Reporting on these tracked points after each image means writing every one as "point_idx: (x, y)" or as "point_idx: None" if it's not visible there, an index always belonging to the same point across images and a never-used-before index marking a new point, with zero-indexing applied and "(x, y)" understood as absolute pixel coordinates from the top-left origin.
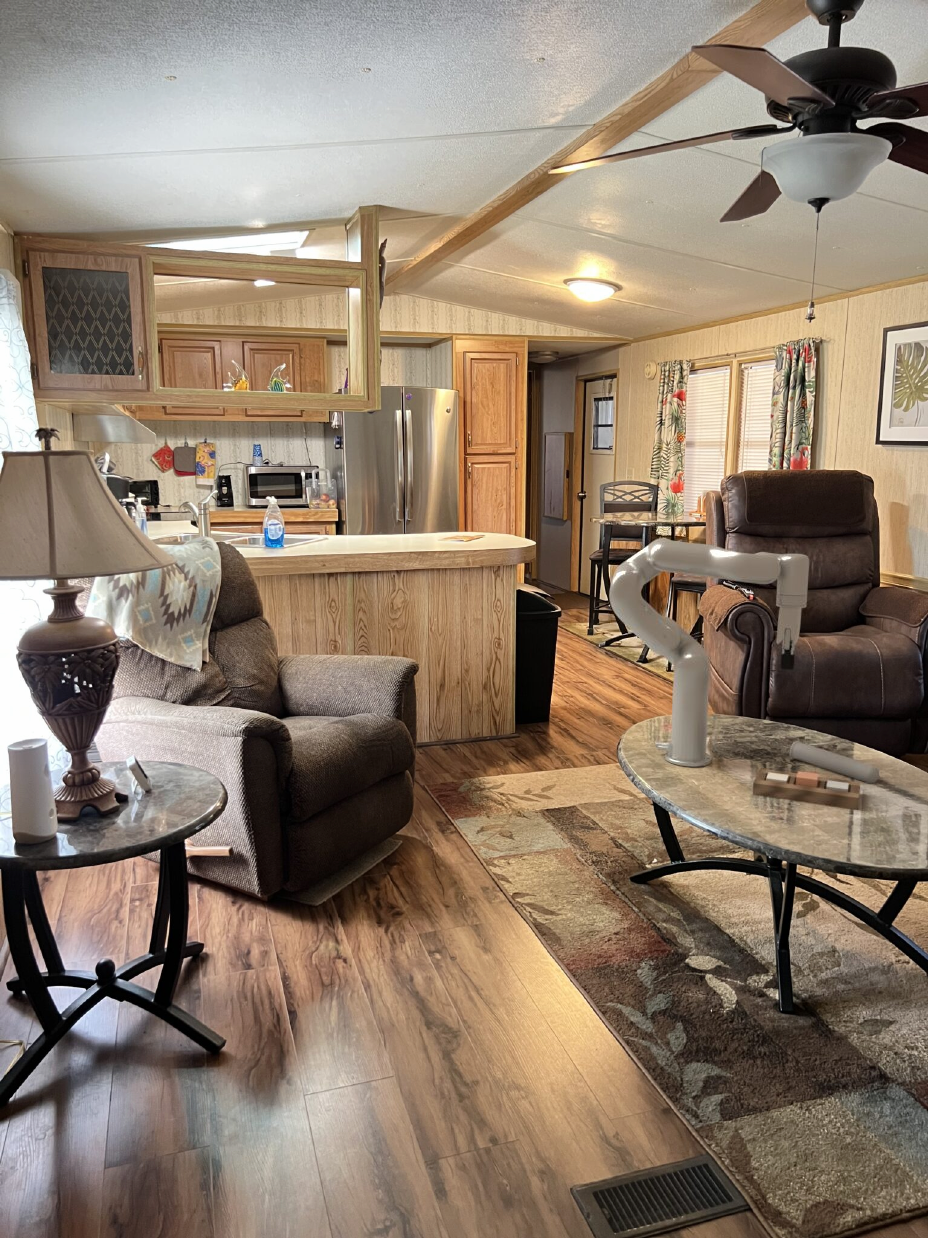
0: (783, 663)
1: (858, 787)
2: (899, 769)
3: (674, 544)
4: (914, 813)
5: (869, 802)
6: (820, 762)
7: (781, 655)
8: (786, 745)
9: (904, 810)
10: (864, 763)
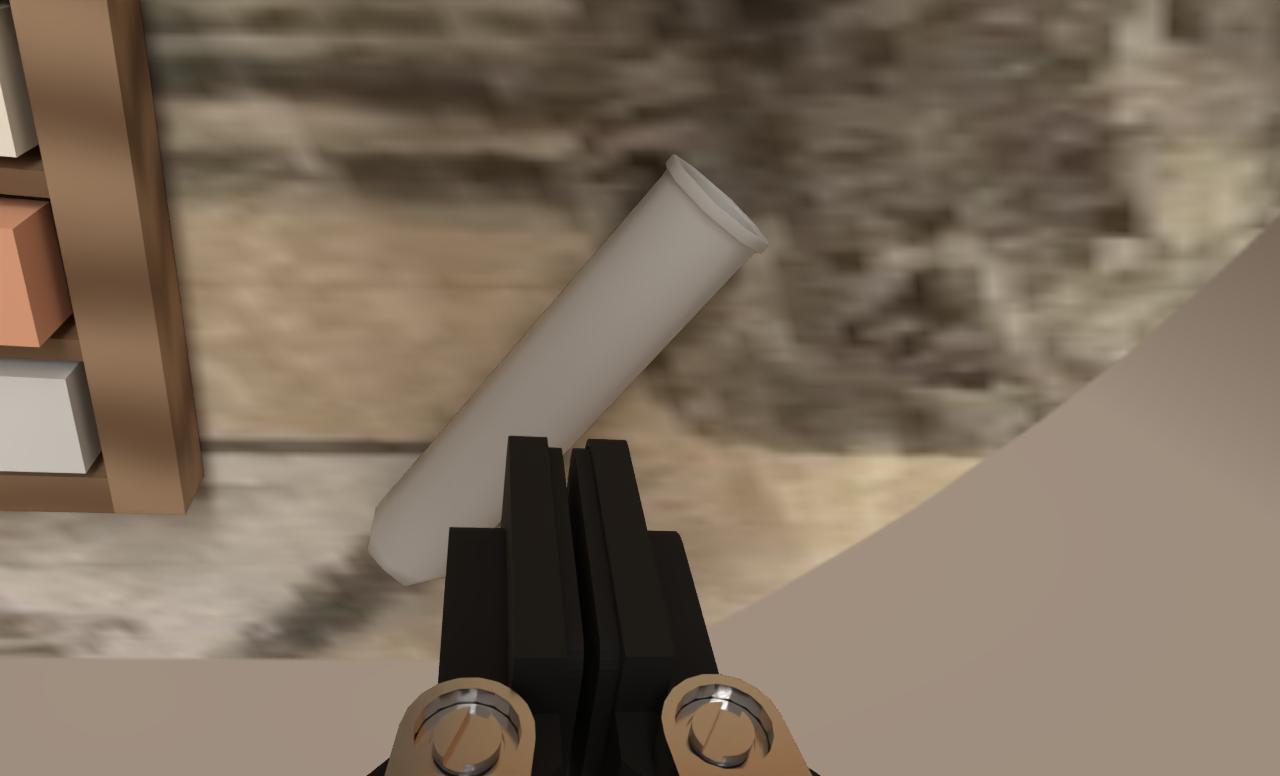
0: (506, 535)
1: (78, 506)
2: None
3: None
4: (61, 647)
5: None
6: (537, 329)
7: (511, 629)
8: (958, 133)
9: (75, 619)
10: (435, 546)
